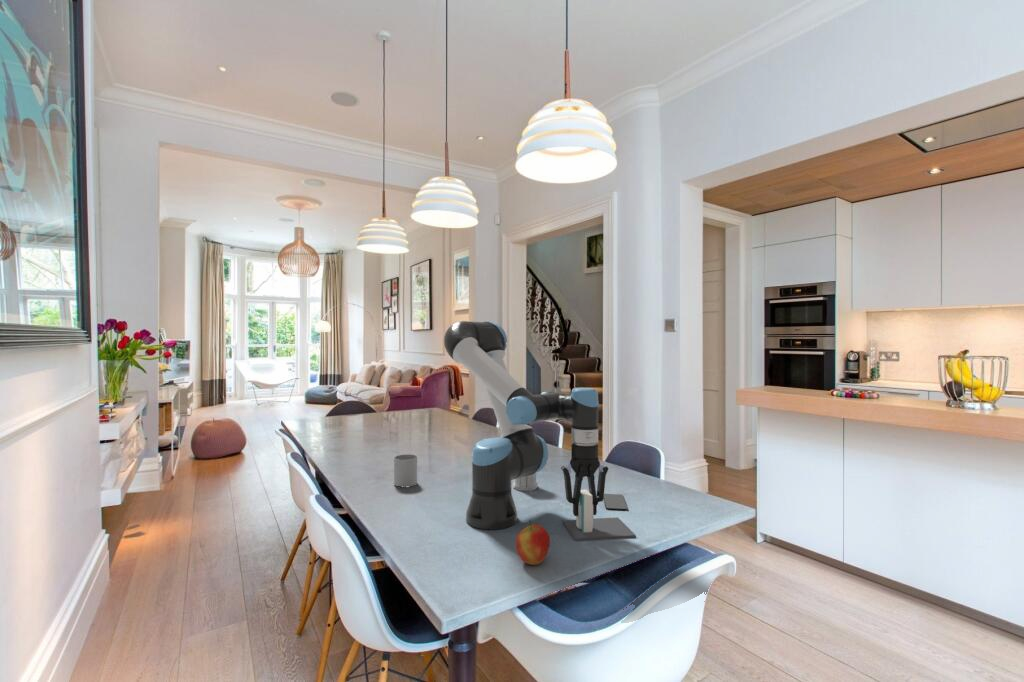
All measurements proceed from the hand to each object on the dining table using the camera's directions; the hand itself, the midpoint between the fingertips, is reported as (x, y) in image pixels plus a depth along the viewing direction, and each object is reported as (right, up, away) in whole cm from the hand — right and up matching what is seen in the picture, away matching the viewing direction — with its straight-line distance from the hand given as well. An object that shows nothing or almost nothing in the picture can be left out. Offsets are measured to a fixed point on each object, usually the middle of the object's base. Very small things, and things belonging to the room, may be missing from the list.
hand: (584, 526), depth 132 cm
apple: (-15, -1, -19) cm, 25 cm away
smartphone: (+14, -2, +23) cm, 27 cm away
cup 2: (-16, -1, +39) cm, 42 cm away
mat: (+4, -1, +1) cm, 4 cm away
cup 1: (-60, -1, +42) cm, 73 cm away
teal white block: (0, -1, 0) cm, 1 cm away
